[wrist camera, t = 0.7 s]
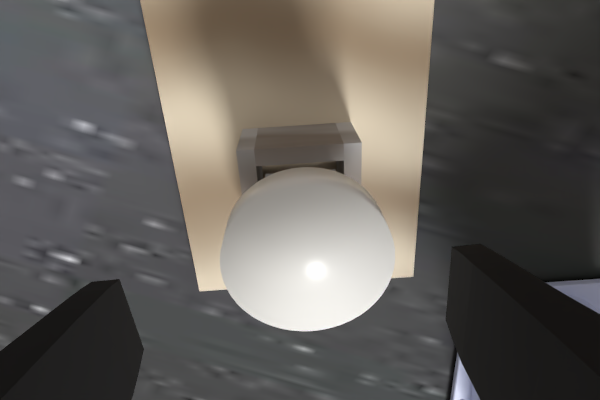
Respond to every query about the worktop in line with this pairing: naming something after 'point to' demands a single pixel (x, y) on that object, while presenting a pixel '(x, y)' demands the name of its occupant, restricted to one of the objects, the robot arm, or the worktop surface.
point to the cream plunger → (306, 250)
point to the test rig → (291, 104)
